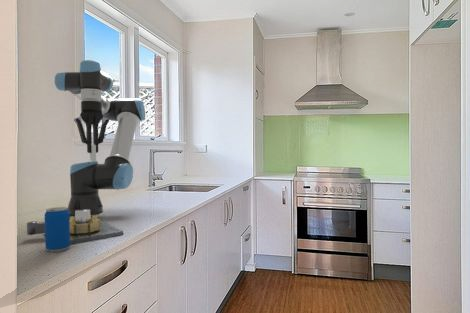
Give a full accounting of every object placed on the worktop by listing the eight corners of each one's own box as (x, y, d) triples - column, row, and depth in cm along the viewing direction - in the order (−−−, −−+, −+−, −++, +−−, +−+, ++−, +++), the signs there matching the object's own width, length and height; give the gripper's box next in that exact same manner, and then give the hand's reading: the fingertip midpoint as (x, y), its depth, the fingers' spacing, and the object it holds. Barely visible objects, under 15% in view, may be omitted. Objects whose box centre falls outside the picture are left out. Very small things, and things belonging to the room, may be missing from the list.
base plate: (44, 233, 122) (43, 210, 121) (102, 224, 134) (102, 203, 134) (59, 246, 106) (58, 219, 106) (123, 234, 119) (122, 210, 119)
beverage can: (46, 247, 105) (45, 208, 104) (70, 245, 107) (69, 206, 107) (44, 253, 99) (43, 211, 98) (69, 250, 101) (68, 209, 101)
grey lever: (100, 224, 127) (100, 213, 127) (99, 231, 117) (99, 219, 117) (31, 230, 120) (30, 218, 120) (23, 238, 110) (22, 225, 109)
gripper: (76, 98, 130) (78, 162, 131) (111, 101, 138) (113, 160, 139) (70, 100, 136) (72, 161, 136) (104, 103, 144) (106, 160, 145)
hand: (93, 161), depth 138 cm, fingers closed
